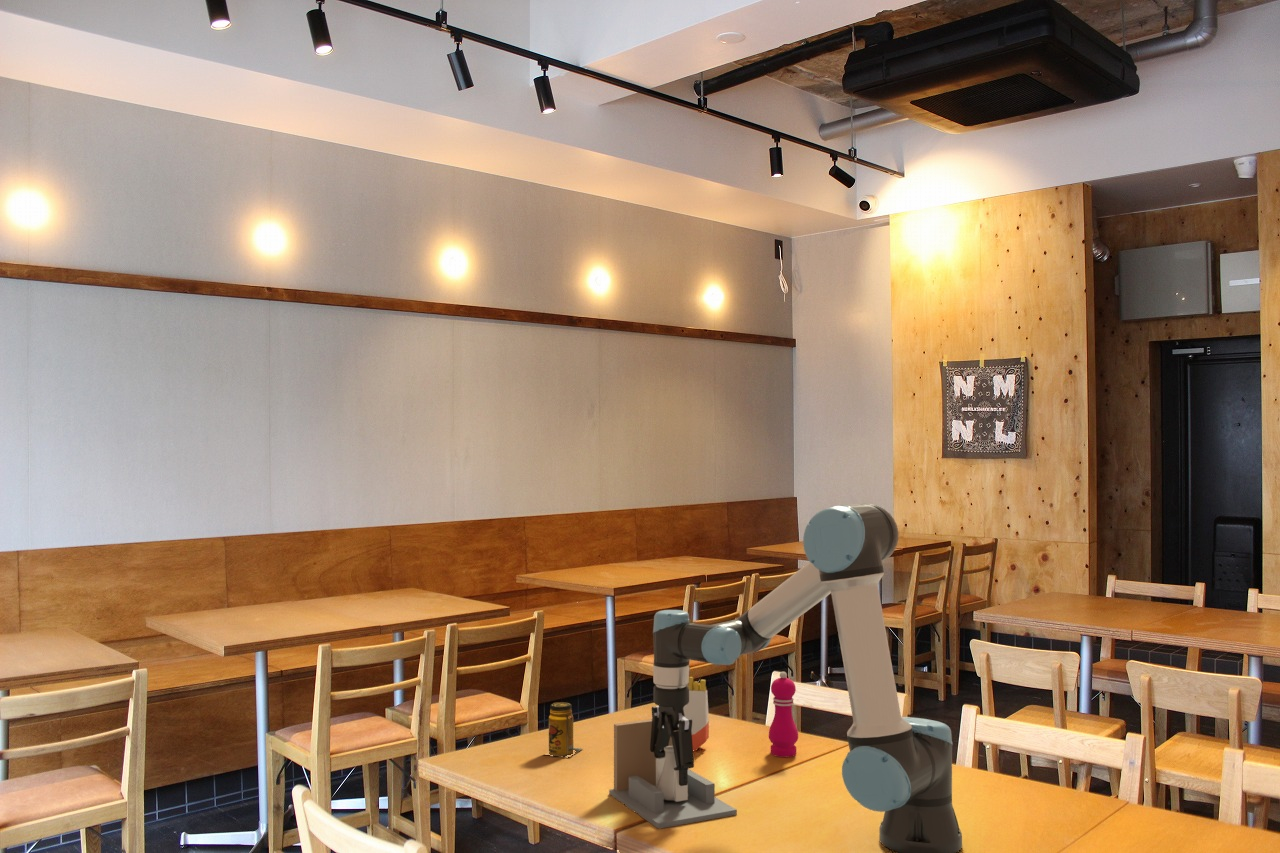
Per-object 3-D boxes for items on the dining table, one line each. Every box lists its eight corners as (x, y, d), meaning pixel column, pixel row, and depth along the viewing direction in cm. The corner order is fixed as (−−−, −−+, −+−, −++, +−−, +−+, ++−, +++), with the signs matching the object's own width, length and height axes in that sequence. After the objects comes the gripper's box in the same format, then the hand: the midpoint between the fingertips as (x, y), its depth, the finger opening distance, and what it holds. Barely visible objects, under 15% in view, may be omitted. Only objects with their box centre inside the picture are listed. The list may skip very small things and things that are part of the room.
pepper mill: (778, 747, 260) (778, 667, 260) (803, 753, 255) (803, 671, 256) (762, 754, 254) (762, 672, 255) (788, 759, 250) (788, 676, 250)
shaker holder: (736, 814, 212) (736, 740, 212) (658, 828, 204) (658, 751, 204) (682, 782, 232) (682, 715, 233) (609, 794, 224) (609, 724, 225)
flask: (685, 802, 214) (685, 753, 214) (651, 800, 215) (651, 751, 216) (691, 791, 221) (691, 744, 221) (657, 789, 222) (657, 742, 223)
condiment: (542, 755, 253) (542, 706, 253) (556, 746, 261) (556, 698, 261) (569, 758, 250) (569, 708, 251) (583, 749, 258) (583, 700, 259)
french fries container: (666, 743, 263) (666, 672, 264) (709, 746, 261) (709, 674, 261) (662, 748, 259) (662, 676, 259) (705, 752, 256) (705, 678, 257)
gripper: (711, 692, 211) (711, 806, 211) (664, 673, 230) (664, 778, 229) (679, 696, 208) (679, 812, 207) (633, 677, 226) (633, 783, 226)
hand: (671, 794), depth 218 cm, fingers closed on flask, 7 cm apart
